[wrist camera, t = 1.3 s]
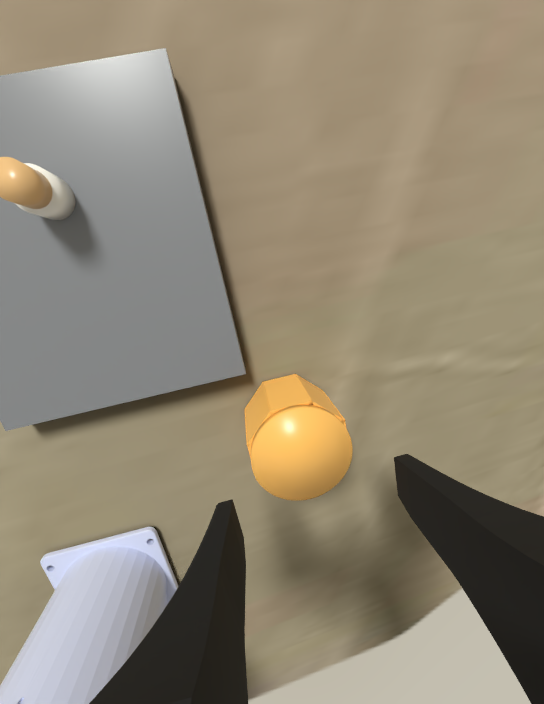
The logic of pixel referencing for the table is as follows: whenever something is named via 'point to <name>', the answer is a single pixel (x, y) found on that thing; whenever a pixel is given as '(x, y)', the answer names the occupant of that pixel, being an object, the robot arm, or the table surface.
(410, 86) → the table surface
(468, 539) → the robot arm
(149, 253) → the plate
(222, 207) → the table surface
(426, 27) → the table surface
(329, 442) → the orange acorn nut
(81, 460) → the table surface
